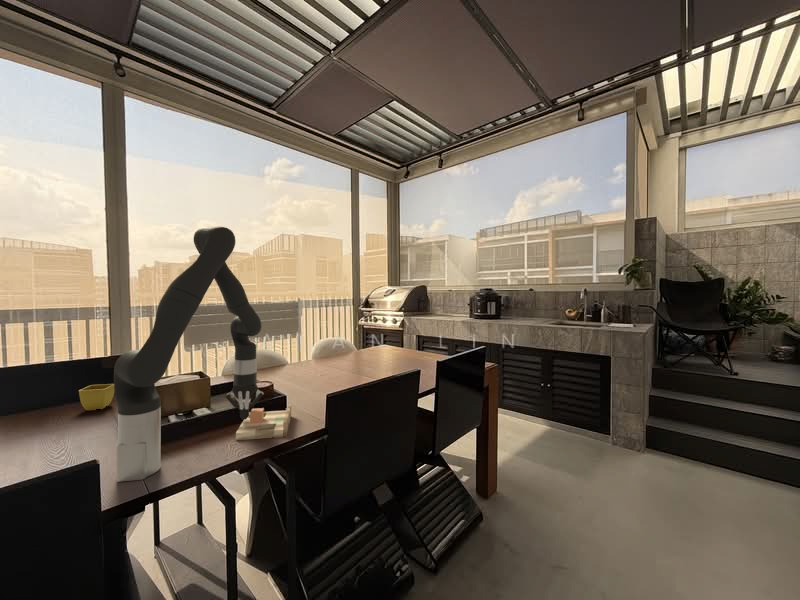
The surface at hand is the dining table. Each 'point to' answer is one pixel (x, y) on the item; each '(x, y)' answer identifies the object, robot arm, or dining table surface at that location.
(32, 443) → the dining table surface
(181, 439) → the dining table surface
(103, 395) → the flower pot
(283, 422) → the board
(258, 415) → the block
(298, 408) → the dining table surface
